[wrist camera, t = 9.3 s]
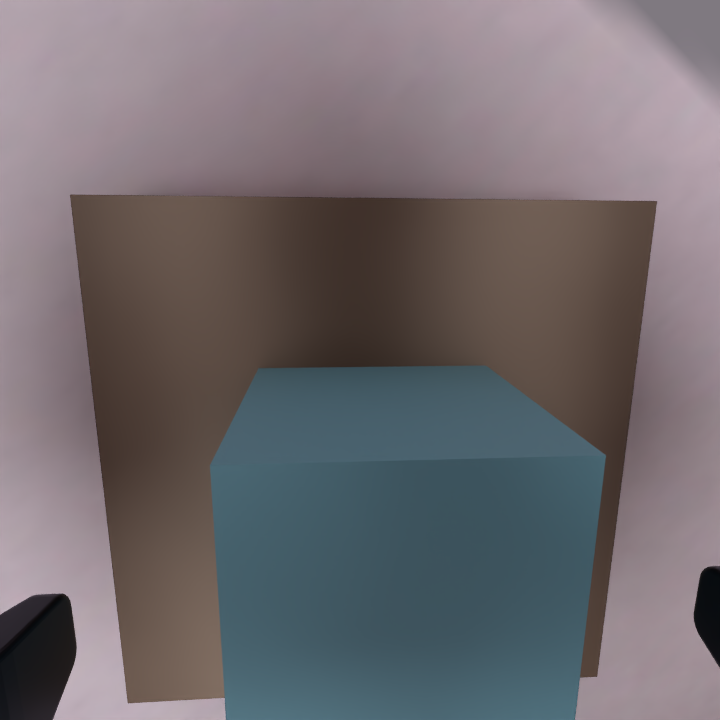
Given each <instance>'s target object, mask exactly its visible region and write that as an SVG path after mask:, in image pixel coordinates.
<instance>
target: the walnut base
mask: <svg viewBox="0 0 720 720" xmlns="http://www.w3.org/2000/svg"><path fill="white" fill-rule="evenodd" d="M70 198H71V207H72V215H73V224H74V233H75V242H76V251H77V259H78V268H79V277H80V286H81V295H82V303H83V312H84V321H85V330H86V339H87V347H88V356H89V365H90V374H91V383H92V392H93V400H94V409H95V418H96V427H97V436H98V444H99V453H100V462H101V471H102V480H103V488H104V497H105V506H106V515H107V524H108V533H109V541H110V550H111V559H112V568H113V577H114V585H115V594H116V603H117V612H118V621H119V629H120V638H121V647H122V656H123V665H124V674H125V682H126V691H127V700H128V703H140V702H158V701H175V700H193V699H211V698H225V695H224V679H223V663H222V647H221V631H220V616H219V600H218V584H217V568H216V553H215V537H214V521H213V505H212V490H211V474H210V464H211V462H212V460H213V458H214V456H215V454H216V452H217V450H218V448H219V446H220V444H221V442H222V440H223V438H224V436H225V434H226V432H227V430H228V428H229V426H230V424H231V422H232V420H233V418H234V416H235V414H236V412H237V410H238V408H239V406H240V404H241V402H242V400H243V398H244V396H245V394H246V392H247V390H248V388H249V386H250V384H251V382H252V380H253V378H254V376H255V374H256V372H257V370H258V368H321V367H403V366H487V367H489V368H490V369H491V370H493V371H494V372H495V373H497V374H498V375H499V376H501V377H502V378H503V379H505V380H506V381H507V382H509V383H510V384H511V385H513V386H514V387H515V388H517V389H518V390H519V391H521V392H522V393H523V394H525V395H526V396H527V397H529V398H530V399H531V400H533V401H534V402H535V403H537V404H538V405H539V406H541V407H542V408H543V409H545V410H546V411H547V412H549V413H550V414H551V415H553V416H554V417H555V418H557V419H558V420H559V421H561V422H562V423H563V424H565V425H566V426H567V427H569V428H570V429H571V430H573V431H574V432H575V433H577V434H578V435H579V436H581V437H582V438H583V439H585V440H586V441H587V442H589V443H590V444H591V445H593V446H594V447H595V448H597V449H598V450H599V451H601V452H602V453H603V454H605V455H606V459H605V468H604V476H603V485H602V493H601V502H600V510H599V519H598V527H597V536H596V544H595V553H594V561H593V570H592V578H591V587H590V595H589V604H588V612H587V621H586V629H585V638H584V646H583V655H582V663H581V672H580V678H581V677H597V673H598V665H599V657H600V649H601V641H602V633H603V625H604V617H605V609H606V601H607V593H608V585H609V577H610V569H611V562H612V554H613V546H614V538H615V530H616V522H617V514H618V506H619V498H620V490H621V482H622V474H623V466H624V458H625V450H626V443H627V435H628V427H629V419H630V411H631V403H632V395H633V387H634V379H635V371H636V363H637V355H638V347H639V339H640V332H641V324H642V316H643V308H644V300H645V292H646V284H647V276H648V268H649V260H650V252H651V244H652V236H653V228H654V221H655V213H656V205H657V201H590V200H501V199H412V198H323V197H233V196H144V195H70Z"/></svg>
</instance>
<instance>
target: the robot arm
mask: <svg viewBox="0 0 720 720" xmlns="http://www.w3.org/2000/svg"><path fill="white" fill-rule="evenodd" d="M694 622H695V626H696V629H697V631H698V633H699V635H700V637H701V639H702V640H703V642H704V643H705V645H706V647H707V648H708V650H709V651H710V653H711V655H712V656H713V658H714V659H715V661H716V663H717V664H718V666H719V667H720V566H710V567H707V568H705V569H704V570H703V571H702V573H701V575H700V580H699V586H698V591H697V597H696V603H695V609H694ZM76 648H77V646H76V637H75V630H74V623H73V615H72V608H71V603H70V600H69V598H68V596H66V595H65V594H40V595H34V596H31V597H29V598H28V599H26V600H24V601H23V602H21V603H19V604H17V605H16V606H14V607H12V608H11V609H9V610H7V611H6V612H4V613H2V614H0V720H53V718H54V715H55V713H56V710H57V707H58V705H59V702H60V699H61V697H62V694H63V692H64V689H65V686H66V684H67V681H68V679H69V676H70V673H71V671H72V668H73V665H74V662H75V658H76Z"/></svg>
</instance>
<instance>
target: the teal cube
mask: <svg viewBox="0 0 720 720" xmlns="http://www.w3.org/2000/svg"><path fill="white" fill-rule="evenodd" d="M605 459H606V455H605V454H603V453H602V452H601V451H599V450H598V449H597V448H595V447H594V446H593V445H591V444H590V443H589V442H587V441H586V440H585V439H583V438H582V437H581V436H579V435H578V434H577V433H575V432H574V431H573V430H571V429H570V428H569V427H567V426H566V425H565V424H563V423H562V422H561V421H559V420H558V419H557V418H555V417H554V416H553V415H551V414H550V413H549V412H547V411H546V410H545V409H543V408H542V407H541V406H539V405H538V404H537V403H535V402H534V401H533V400H531V399H530V398H529V397H527V396H526V395H525V394H523V393H522V392H521V391H519V390H518V389H517V388H515V387H514V386H513V385H511V384H510V383H509V382H507V381H506V380H505V379H503V378H502V377H501V376H499V375H498V374H497V373H495V372H494V371H493V370H491V369H490V368H489V367H487V366H403V367H321V368H258V370H257V372H256V374H255V376H254V378H253V380H252V382H251V384H250V386H249V388H248V390H247V392H246V394H245V396H244V398H243V400H242V402H241V404H240V406H239V408H238V410H237V412H236V414H235V416H234V418H233V420H232V422H231V424H230V426H229V428H228V430H227V432H226V434H225V436H224V438H223V440H222V442H221V444H220V446H219V448H218V450H217V452H216V454H215V456H214V458H213V460H212V462H211V464H210V474H211V490H212V505H213V521H214V537H215V553H216V568H217V584H218V600H219V616H220V631H221V647H222V663H223V679H224V695H225V710H226V720H575V714H576V706H577V697H578V689H579V680H580V672H581V663H582V655H583V646H584V638H585V629H586V621H587V612H588V604H589V595H590V587H591V578H592V570H593V561H594V553H595V544H596V536H597V527H598V519H599V510H600V502H601V493H602V485H603V476H604V468H605Z"/></svg>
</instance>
